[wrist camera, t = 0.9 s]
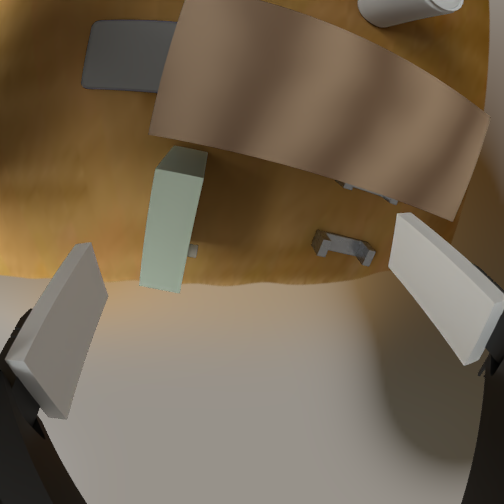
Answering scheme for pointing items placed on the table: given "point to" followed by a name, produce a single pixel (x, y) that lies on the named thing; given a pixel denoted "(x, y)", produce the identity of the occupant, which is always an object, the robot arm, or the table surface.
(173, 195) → the pale green square block
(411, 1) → the beverage can
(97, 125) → the table surface
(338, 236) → the hinge clips
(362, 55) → the cabinet
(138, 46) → the smartphone
